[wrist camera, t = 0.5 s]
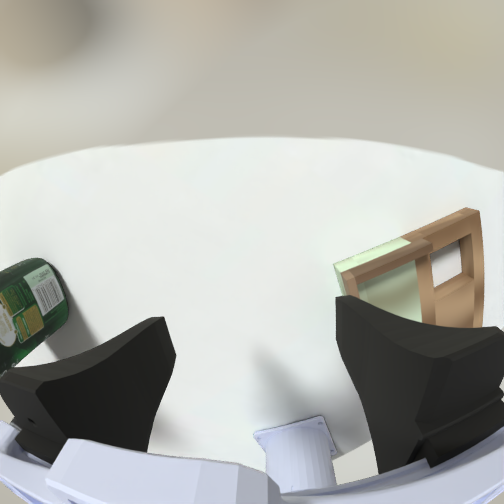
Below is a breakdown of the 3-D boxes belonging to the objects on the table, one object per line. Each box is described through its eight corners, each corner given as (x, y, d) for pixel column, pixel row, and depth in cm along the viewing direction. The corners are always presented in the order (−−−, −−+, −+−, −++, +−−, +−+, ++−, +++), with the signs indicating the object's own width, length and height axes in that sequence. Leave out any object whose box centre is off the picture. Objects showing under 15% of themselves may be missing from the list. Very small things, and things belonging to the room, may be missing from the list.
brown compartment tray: (469, 348, 22) (484, 364, 19) (367, 402, 24) (376, 424, 21) (465, 207, 18) (490, 213, 15) (333, 264, 20) (346, 280, 17)
